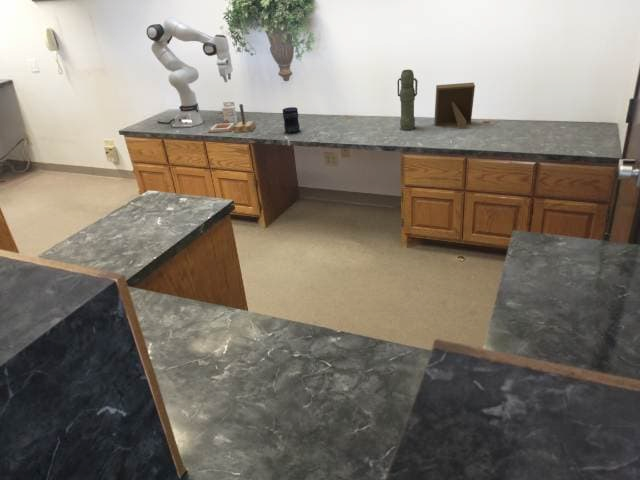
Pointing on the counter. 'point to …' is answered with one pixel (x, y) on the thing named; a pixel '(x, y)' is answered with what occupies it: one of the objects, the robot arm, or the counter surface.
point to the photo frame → (454, 104)
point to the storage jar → (291, 120)
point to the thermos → (407, 99)
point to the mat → (222, 131)
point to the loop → (228, 125)
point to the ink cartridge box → (229, 113)
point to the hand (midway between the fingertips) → (227, 80)
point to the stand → (244, 123)
